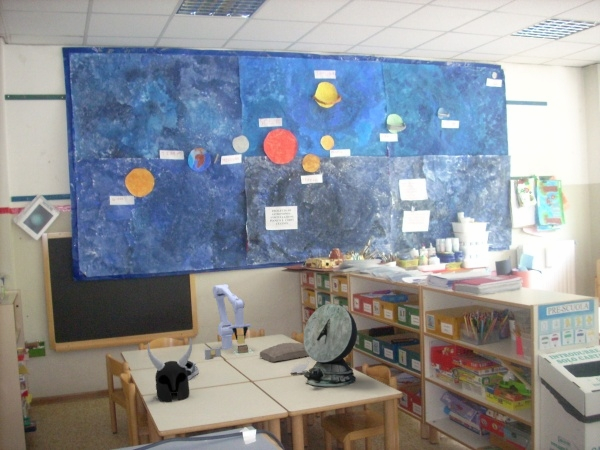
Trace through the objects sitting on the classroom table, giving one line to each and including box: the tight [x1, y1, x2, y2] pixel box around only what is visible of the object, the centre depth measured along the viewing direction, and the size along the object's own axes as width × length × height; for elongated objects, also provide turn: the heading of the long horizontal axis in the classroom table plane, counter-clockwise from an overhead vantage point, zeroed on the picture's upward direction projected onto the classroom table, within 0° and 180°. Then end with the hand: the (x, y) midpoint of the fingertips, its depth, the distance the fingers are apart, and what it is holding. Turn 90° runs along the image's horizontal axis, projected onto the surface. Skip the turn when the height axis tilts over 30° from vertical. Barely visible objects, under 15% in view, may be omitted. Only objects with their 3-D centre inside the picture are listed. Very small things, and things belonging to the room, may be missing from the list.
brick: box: [236, 334, 246, 345], centre depth 405 cm, size 4×4×5 cm
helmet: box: [146, 337, 193, 403], centre depth 317 cm, size 22×19×30 cm
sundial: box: [303, 303, 358, 387], centre depth 323 cm, size 31×32×40 cm
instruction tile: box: [204, 347, 222, 360], centre depth 397 cm, size 2×10×6 cm, turn 104°
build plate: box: [232, 348, 254, 356], centre depth 406 cm, size 12×12×1 cm
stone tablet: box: [259, 342, 310, 363], centre depth 388 cm, size 20×8×30 cm
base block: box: [237, 344, 249, 354], centre depth 406 cm, size 6×6×4 cm
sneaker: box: [185, 360, 200, 381], centre depth 354 cm, size 10×20×10 cm, turn 172°
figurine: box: [289, 356, 316, 376], centre depth 344 cm, size 14×4×9 cm, turn 104°
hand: (240, 339), depth 405 cm, fingers closed on brick, 4 cm apart
